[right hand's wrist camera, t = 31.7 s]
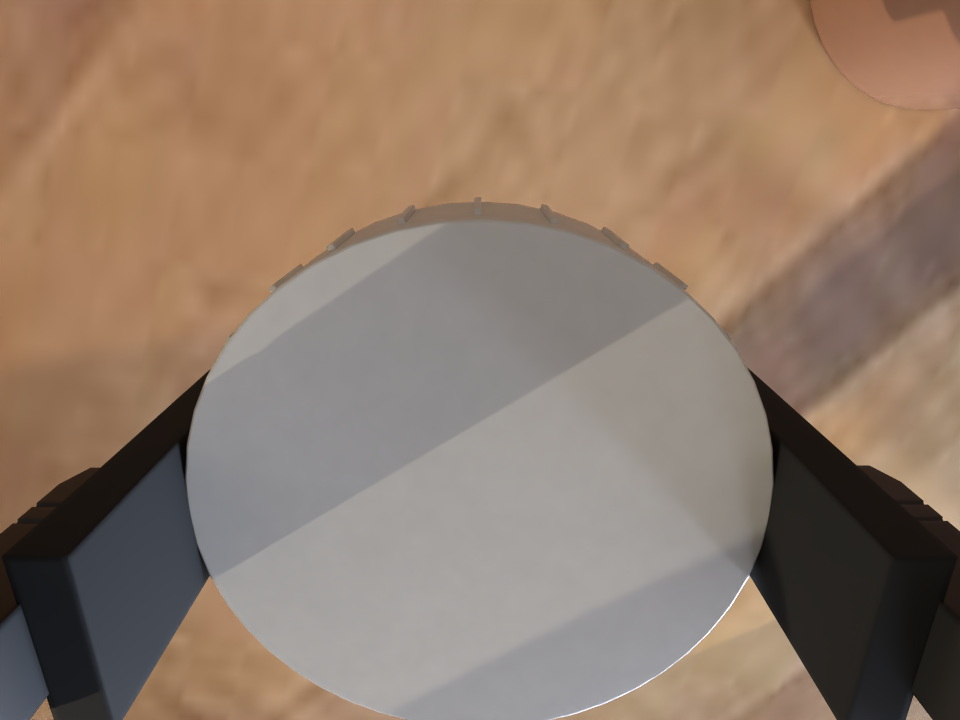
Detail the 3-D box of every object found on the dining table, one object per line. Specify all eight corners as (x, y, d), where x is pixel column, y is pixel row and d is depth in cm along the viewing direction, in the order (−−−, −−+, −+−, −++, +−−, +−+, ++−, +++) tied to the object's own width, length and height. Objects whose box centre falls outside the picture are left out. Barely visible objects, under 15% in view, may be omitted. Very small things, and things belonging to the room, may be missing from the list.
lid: (725, 621, 14) (768, 707, 12) (293, 662, 14) (261, 752, 12) (734, 163, 10) (796, 171, 8) (167, 235, 11) (93, 260, 9)
